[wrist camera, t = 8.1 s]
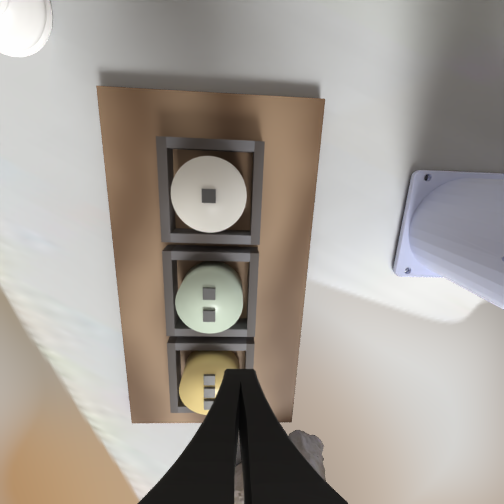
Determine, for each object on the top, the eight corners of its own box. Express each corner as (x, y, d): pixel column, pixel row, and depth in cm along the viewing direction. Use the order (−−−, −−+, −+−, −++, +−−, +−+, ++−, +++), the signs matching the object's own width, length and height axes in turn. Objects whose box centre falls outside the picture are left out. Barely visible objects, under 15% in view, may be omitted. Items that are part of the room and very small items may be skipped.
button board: (320, 102, 19) (333, 92, 16) (289, 412, 26) (294, 438, 24) (103, 90, 18) (82, 77, 15) (135, 413, 25) (124, 440, 23)
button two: (243, 261, 20) (244, 274, 18) (241, 316, 21) (241, 335, 19) (181, 259, 20) (173, 273, 17) (183, 315, 21) (176, 335, 19)
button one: (246, 158, 18) (248, 157, 16) (244, 225, 19) (245, 234, 17) (177, 155, 18) (168, 154, 15) (180, 223, 19) (171, 232, 17)
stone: (213, 475, 28) (206, 551, 23) (266, 405, 26) (274, 469, 21) (279, 503, 30) (289, 580, 24) (335, 439, 28) (360, 507, 22)
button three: (240, 345, 22) (240, 367, 20) (239, 390, 23) (239, 417, 21) (184, 344, 22) (177, 367, 19) (185, 390, 23) (179, 417, 21)
